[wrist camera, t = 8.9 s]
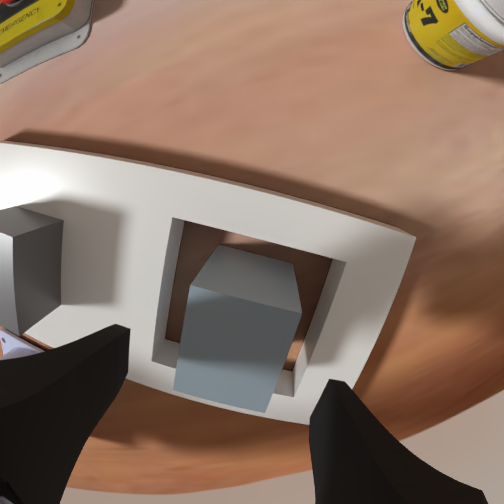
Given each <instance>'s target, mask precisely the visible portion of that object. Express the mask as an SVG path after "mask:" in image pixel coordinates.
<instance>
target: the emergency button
mask: <svg viewBox="0 0 504 504" xmlns="http://www.w3.org/2000/svg"><path fill="white" fill-rule="evenodd" d="M93 4H94V0H0V84H2V83H4V82H6V81H8V80H10V79H11V78H13V77H15V76H17V75H19V74H21V73H23V72H25V71H27V70H29V69H31V68H33V67H35V66H37V65H39V64H42V63H44V62H46V61H48V60H50V59H53V58H55V57H57V56H60V55H62V54H65V53H67V52H70V51H72V50H75V49H77V48H78V47H80V46H81V45H83V43H84V42H85V41H86V39H87V38H88V35H89V32H90V26H91V18H92V10H93Z"/></svg>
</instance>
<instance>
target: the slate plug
mask: <svg viewBox="0 0 504 504" xmlns="http://www.w3.org/2000/svg"><path fill="white" fill-rule="evenodd" d="M301 316H302V309H301V304H300V298H299V293H298V287H297V282H296V277H295V272H294V266H293V263H289V262H285V261H282V260H278V259H274V258H270V257H266V256H262V255H258V254H254V253H250V252H246V251H242V250H238V249H235V248H231V247H227V246H223V245H218V246H217V248H216V249H215V250H214V252H213V253H212V255H211V256H210V257H209V259H208V260H207V262H206V263H205V265H204V266H203V267H202V269H201V270H200V272H199V273H198V275H197V276H196V277H195V279H194V280H193V282H192V283H191V285H190V289H189V294H188V300H187V305H186V311H185V316H184V322H183V328H182V334H181V340H180V346H179V353H178V359H177V366H176V372H175V379H174V386H173V390H175V391H178V392H181V393H185V394H188V395H192V396H195V397H199V398H203V399H206V400H210V401H214V402H218V403H222V404H226V405H230V406H234V407H239V408H243V409H248V410H253V411H257V412H262V413H265V412H266V409H267V407H268V404H269V402H270V399H271V397H272V394H273V392H274V389H275V387H276V384H277V381H278V379H279V376H280V374H281V371H282V368H283V366H284V363H285V360H286V358H287V355H288V352H289V349H290V347H291V344H292V341H293V338H294V336H295V333H296V330H297V327H298V324H299V321H300V319H301Z"/></svg>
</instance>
